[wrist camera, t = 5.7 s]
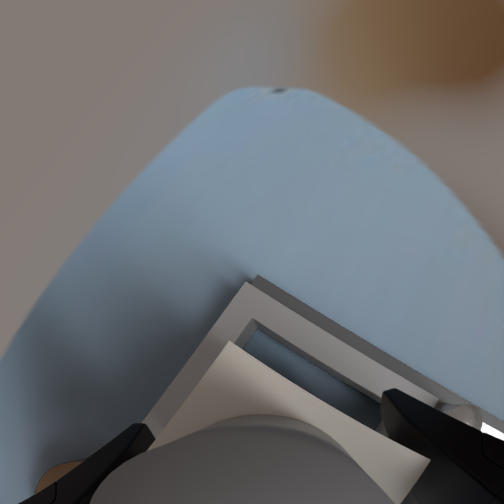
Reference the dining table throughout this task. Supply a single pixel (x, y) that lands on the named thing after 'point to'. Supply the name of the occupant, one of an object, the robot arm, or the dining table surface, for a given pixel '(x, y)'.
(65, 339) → the dining table surface
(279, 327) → the grey control panel
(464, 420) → the lever
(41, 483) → the disc
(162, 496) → the white carton with cap
